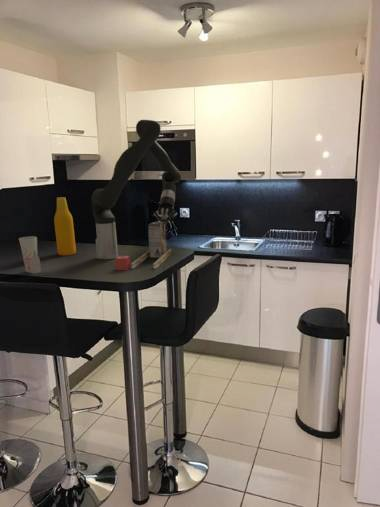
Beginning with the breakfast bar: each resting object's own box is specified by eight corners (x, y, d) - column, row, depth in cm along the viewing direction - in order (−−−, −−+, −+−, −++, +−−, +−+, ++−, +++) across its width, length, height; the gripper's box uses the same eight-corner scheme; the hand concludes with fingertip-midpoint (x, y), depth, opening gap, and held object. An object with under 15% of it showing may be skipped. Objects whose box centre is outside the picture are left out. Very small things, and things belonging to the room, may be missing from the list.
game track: (131, 268, 178) (130, 264, 178) (150, 253, 207) (150, 249, 206) (155, 268, 176) (155, 264, 176) (172, 253, 205) (171, 249, 204)
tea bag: (33, 269, 183) (30, 247, 181) (41, 271, 179) (38, 249, 177) (25, 271, 181) (22, 249, 178) (33, 273, 176) (30, 251, 174)
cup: (43, 260, 200) (40, 236, 197) (32, 264, 192) (29, 239, 190) (29, 260, 202) (26, 236, 200) (18, 264, 195) (15, 239, 192)
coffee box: (154, 253, 206) (153, 221, 203) (167, 253, 205) (165, 221, 201) (149, 257, 197) (147, 224, 194) (162, 257, 196) (160, 224, 193)
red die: (116, 269, 177) (115, 257, 176) (120, 266, 182) (119, 255, 181) (127, 270, 176) (126, 257, 175) (130, 267, 181) (129, 255, 180)
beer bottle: (74, 250, 220) (68, 196, 213) (77, 254, 211) (72, 197, 205) (56, 253, 216) (50, 197, 209) (59, 256, 208) (52, 198, 201)
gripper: (153, 196, 216) (148, 222, 207) (178, 195, 214) (174, 222, 205) (157, 205, 223) (152, 231, 214) (181, 204, 220) (177, 231, 211)
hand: (163, 227), depth 209 cm, fingers closed
